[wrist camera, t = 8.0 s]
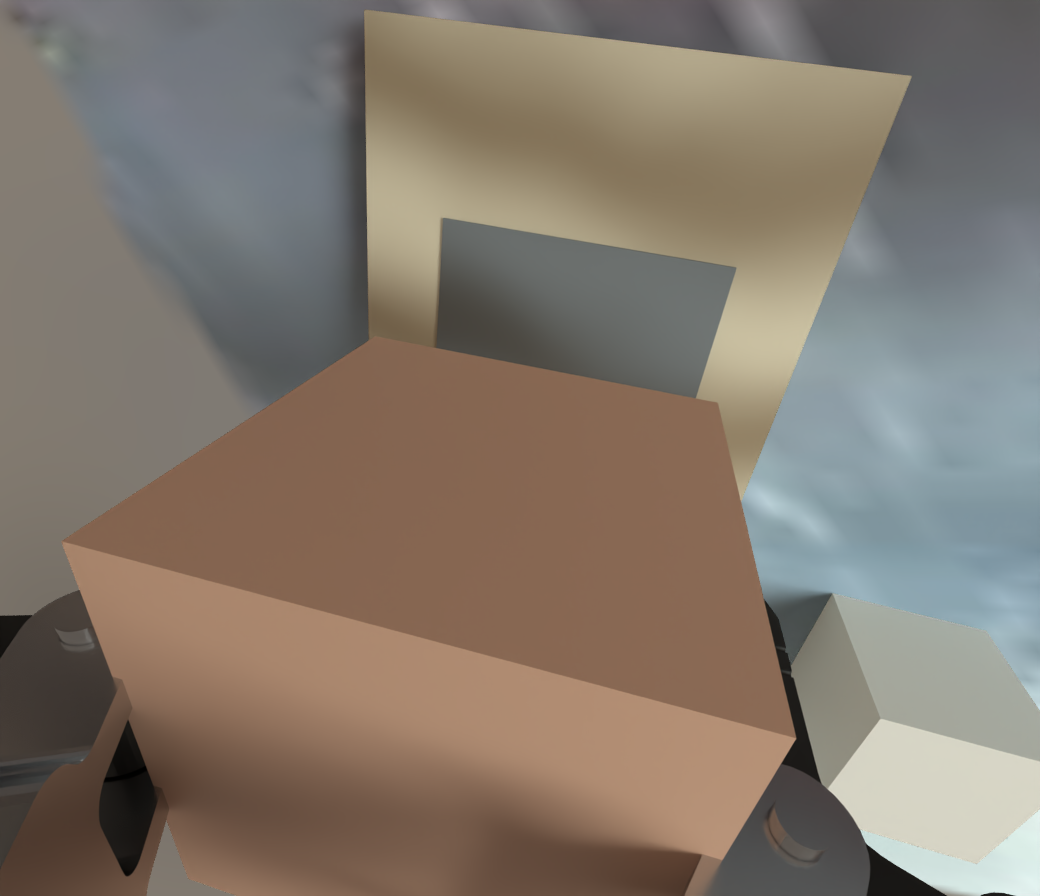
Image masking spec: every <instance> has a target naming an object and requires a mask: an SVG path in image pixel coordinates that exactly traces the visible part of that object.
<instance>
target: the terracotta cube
mask: <svg viewBox="0 0 1040 896" xmlns="http://www.w3.org/2000/svg"><path fill="white" fill-rule="evenodd" d="M62 544H63V547H64V550H65V552H66V555H67V558H68V560H69V563H70V566H71V568H72V571H73V574H74V576H75V579H76V582H77V584H78V587H79V590H80V592H81V595H82V598H83V600H84V603H85V605H86V608H87V611H88V613H89V616H90V619H91V621H92V624H93V627H94V629H95V632H96V635H97V637H98V640H99V643H100V645H101V648H102V651H103V653H104V656H105V659H106V661H107V664H108V667H109V669H110V672H111V674H112V677H116V678H119V679H122V680H123V683H124V686H125V689H126V691H127V694H128V697H129V699H130V702H131V705H132V710H131V713H130V715H129V718H128V720H129V722H130V725H131V728H132V730H133V733H134V736H135V738H136V741H137V743H138V746H139V749H140V751H141V754H142V757H143V759H144V762H145V765H146V767H147V770H148V773H149V775H150V778H151V781H152V783H153V785H154V786H157V787H160V788H162V790H163V793H164V795H165V798H166V801H167V804H168V806H169V812H168V815H167V819H166V820H167V823H168V826H169V828H170V831H171V833H172V836H173V839H174V841H175V844H176V847H177V849H178V852H179V855H180V858H181V860H182V863H183V865H184V868H185V870H186V873H187V876H188V879H190V880H193V881H196V882H199V883H202V884H205V885H207V886H210V887H213V888H216V889H219V890H222V891H225V892H227V893H231V894H233V895H236V896H681V895H682V893H683V891H684V888H685V886H686V884H687V882H688V879H689V877H690V876H691V874H692V872H693V870H694V869H695V867H696V865H697V863H698V861H699V860H700V858H701V856H702V854H703V855H707V856H710V857H713V858H717V859H720V860H723V858H724V857H725V855H726V853H727V852H728V850H729V848H730V847H731V845H732V844H733V842H734V840H735V839H736V837H737V835H738V834H739V832H740V830H741V829H742V827H743V825H744V824H745V822H746V820H747V819H748V817H749V816H750V814H751V812H752V811H753V809H754V807H755V806H756V804H757V802H758V801H759V799H760V797H761V796H762V794H763V793H764V791H765V789H766V788H767V786H768V784H769V783H770V781H771V779H772V778H773V776H774V774H775V773H776V771H777V769H778V768H779V766H780V765H781V763H782V761H783V760H784V758H785V756H786V755H787V753H788V751H789V750H790V748H791V746H792V745H793V743H794V741H795V740H796V735H795V730H794V726H793V722H792V718H791V713H790V709H789V705H788V701H787V696H786V692H785V688H784V683H783V679H782V675H781V671H780V666H779V662H778V658H777V654H776V649H775V645H774V641H773V636H772V632H771V628H770V624H769V619H768V615H767V611H766V607H765V602H764V598H763V594H762V589H761V585H760V581H759V577H758V572H757V568H756V564H755V560H754V555H753V551H752V547H751V542H750V538H749V534H748V530H747V525H746V521H745V517H744V513H743V508H742V504H741V500H740V495H739V491H738V487H737V483H736V478H735V474H734V470H733V466H732V461H731V457H730V453H729V448H728V444H727V440H726V436H725V431H724V427H723V423H722V419H721V414H720V410H719V406H718V403H717V402H712V401H706V400H701V399H696V398H691V397H686V396H681V395H676V394H670V393H665V392H660V391H655V390H650V389H645V388H639V387H634V386H629V385H624V384H619V383H614V382H609V381H603V380H598V379H593V378H588V377H583V376H578V375H572V374H567V373H562V372H557V371H552V370H547V369H542V368H536V367H531V366H526V365H521V364H516V363H511V362H506V361H500V360H495V359H490V358H485V357H480V356H475V355H469V354H464V353H459V352H454V351H449V350H444V349H439V348H433V347H428V346H423V345H418V344H413V343H408V342H402V341H397V340H392V339H387V338H382V337H377V336H375V337H373V338H372V339H370V340H369V341H367V342H366V343H364V344H363V345H361V346H360V347H358V348H356V349H355V350H353V351H352V352H350V353H349V354H347V355H346V356H344V357H343V358H341V359H340V360H338V361H337V362H335V363H333V364H332V365H330V366H329V367H327V368H326V369H324V370H323V371H321V372H320V373H318V374H317V375H315V376H314V377H312V378H311V379H309V380H307V381H306V382H304V383H303V384H301V385H300V386H298V387H297V388H295V389H294V390H292V391H291V392H289V393H288V394H286V395H284V396H283V397H281V398H280V399H278V400H277V401H275V402H274V403H272V404H271V405H269V406H268V407H266V408H265V409H263V410H262V411H260V412H258V413H257V414H255V415H254V416H252V417H251V418H249V419H248V420H246V421H245V422H243V423H242V424H240V425H239V426H237V427H236V428H234V429H232V430H231V431H230V432H228V433H227V434H225V435H223V436H222V437H220V438H219V439H217V440H216V441H214V442H213V443H211V444H209V445H208V446H206V447H205V448H203V449H202V450H200V451H199V452H197V453H196V454H194V455H193V456H191V457H190V458H188V459H187V460H185V461H184V462H182V463H180V464H179V465H177V466H176V467H174V468H173V469H172V470H170V471H168V472H167V473H165V474H164V475H162V476H160V477H159V478H157V479H156V480H154V481H153V482H151V483H150V484H148V485H147V486H145V487H144V488H142V489H141V490H139V491H137V492H136V493H134V494H133V495H132V496H130V497H128V498H127V499H125V500H124V501H122V502H121V503H119V504H118V505H116V506H115V507H113V508H111V509H110V510H108V511H107V512H105V513H104V514H103V515H101V516H99V517H98V518H96V519H95V520H93V521H92V522H90V523H88V524H87V525H85V526H84V527H82V528H81V529H79V530H78V531H76V532H75V533H73V534H72V535H70V536H69V537H67V538H66V539H64V540H63V541H62Z"/></svg>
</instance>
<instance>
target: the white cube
mask: <svg viewBox="0 0 1040 896" xmlns="http://www.w3.org/2000/svg"><path fill="white" fill-rule="evenodd" d="M791 669H792V673H791V677H793V678H794V681H795V685H796V689H797V693H798V697H799V700H800V704H801V708H802V712H803V716H804V720H805V724H806V728H807V731H808V735H809V739H810V743H811V747H812V751H813V755H814V759H815V763H816V766H817V770H818V774H819V777H820V780H821V783H822V785H823V786H825V787H826V788H827V789H828V790H829V791H830V792H831V793H832V794H834V795H835V797H836V798H837V799H838V800H839V801H840V802H841V803H842V804H843V805H844V807H845V808H846V809H847V811H848V812H849V813H850V815H851V816H852V817H853V819H854V821H855V822H856V824H857V826H858V828H859V829H860V830H864V831H867V832H871V833H874V834H877V835H881V836H884V837H887V838H891V839H894V840H898V841H901V842H904V843H908V844H911V845H915V846H918V847H921V848H925V849H928V850H931V851H935V852H938V853H942V854H945V855H948V856H952V857H955V858H959V859H962V860H965V861H969V862H972V863H975V864H977V863H978V862H980V861H981V860H982V859H983V858H984V857H985V856H986V855H988V854H989V853H990V852H991V851H992V850H993V849H995V848H996V847H997V846H998V845H999V844H1000V843H1001V842H1003V841H1004V840H1005V839H1006V838H1007V837H1008V836H1009V835H1011V834H1012V833H1013V832H1014V831H1015V830H1016V829H1018V828H1019V827H1020V826H1021V825H1022V824H1023V823H1024V822H1026V821H1027V820H1028V819H1029V818H1030V817H1031V816H1032V815H1034V814H1035V813H1036V812H1037V811H1038V810H1039V809H1040V710H1039V709H1038V707H1037V706H1036V704H1035V703H1034V701H1033V700H1032V698H1031V697H1030V695H1029V694H1028V692H1027V691H1026V689H1025V688H1024V686H1023V685H1022V683H1021V682H1020V680H1019V679H1018V677H1017V676H1016V674H1015V673H1014V671H1013V670H1012V668H1011V667H1010V665H1009V664H1008V662H1007V661H1006V660H1005V658H1004V657H1003V655H1002V654H1001V652H1000V651H999V649H998V648H997V646H996V645H995V643H994V642H993V640H992V639H991V637H990V636H989V634H988V633H987V631H985V630H981V629H977V628H973V627H969V626H965V625H961V624H957V623H952V622H948V621H944V620H940V619H936V618H932V617H928V616H924V615H920V614H916V613H912V612H908V611H903V610H899V609H895V608H891V607H887V606H883V605H879V604H875V603H871V602H867V601H863V600H858V599H854V598H850V597H846V596H842V595H838V594H834V593H832V595H831V597H830V598H829V600H828V602H827V604H826V605H825V607H824V609H823V611H822V612H821V614H820V616H819V618H818V619H817V621H816V623H815V625H814V626H813V628H812V630H811V632H810V633H809V635H808V637H807V639H806V640H805V642H804V644H803V646H802V647H801V649H800V651H799V653H798V654H797V656H796V658H795V660H794V661H793V663H792V665H791Z"/></svg>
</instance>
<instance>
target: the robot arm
mask: <svg viewBox="0 0 1040 896" xmlns="http://www.w3.org/2000/svg"><path fill="white" fill-rule="evenodd" d="M764 602H765V607H766V611H767V615H768V619H769V624H770V628H771V632H772V636H773V641H774V645H775V649H776V654H777V658H778V662H779V666H780V671H781V675H782V679H783V683H784V688H785V692H786V696H787V701H788V705H789V709H790V713H791V718H792V722H793V726H794V730H795V735H796V740H795V741H794V743H793V745H792V746H791V748H790V750H789V751H788V753H787V755H786V756H785V758H784V760H783V761H782V763H781V765H780V766H779V768H778V769H777V771H776V773H775V774H774V776H773V778H772V779H771V781H770V783H769V784H768V786H767V788H766V789H765V791H764V793H763V794H762V796H761V797H760V799H759V801H758V802H757V804H756V806H755V807H754V809H753V811H752V812H751V814H750V816H749V817H748V819H747V820H746V822H745V824H744V825H743V827H742V829H741V830H740V832H739V834H738V835H737V837H736V839H735V840H734V842H733V844H732V845H731V847H730V848H729V850H728V852H727V853H726V855H725V857H724V858H723V860H720V859H717V858H713V857H710V856H707V855H703V854H702V856H701V858H700V860H699V861H698V863H697V865H696V867H695V869H694V870H693V872H692V874H691V876H690V877H689V879H688V882H687V884H686V886H685V888H684V891H683V893H682V895H681V896H946V895H945V894H943V893H941V892H940V891H938V890H936V889H935V888H933V887H931V886H930V885H928V884H926V883H925V882H923V881H921V880H920V879H918V878H916V877H915V876H913V875H911V874H910V873H908V872H906V871H905V870H903V869H901V868H900V867H898V866H896V865H894V864H893V863H891V862H890V861H888V860H887V859H885V858H884V857H882V856H881V855H880V854H878V853H877V852H876V851H875V850H873V849H872V848H871V847H870V846H868V845H867V844H866V843H865V841H864V838H863V836H862V834H861V831H860V829H859V828H858V826H857V824H856V822H855V821H854V819H853V817H852V816H851V815H850V813H849V812H848V811H847V809H846V808H845V807H844V805H843V804H842V803H841V802H840V801H839V800H838V799H837V798H836V797H835V795H834V794H832V793H831V792H830V791H829V790H828V789H827V788H826V787H825V786H823V785H822V783H821V780H820V777H819V774H818V770H817V766H816V763H815V759H814V755H813V751H812V747H811V743H810V739H809V735H808V731H807V728H806V724H805V720H804V716H803V712H802V708H801V704H800V700H799V697H798V693H797V689H796V685H795V681H794V678H793V677H791V673H792V669H791V666H790V662H789V658H788V654H787V653H785V648H786V646H785V642H784V638H783V634H782V631H781V627H780V623H779V619H778V618H777V616H776V615H775V614H774V612H773V611H772V609H771V608H770V607H769V605H768V604H767V603H766V601H765V600H764ZM131 710H132V705H131V702H130V699H129V697H128V694H127V691H126V689H125V686H124V683H123V680H122V679H119V678H116V677H112V674H111V672H110V669H109V667H108V664H107V661H106V659H105V656H104V653H103V651H102V648H101V645H100V643H99V640H98V637H97V635H96V632H95V629H94V627H93V624H92V621H91V619H90V616H89V613H88V611H87V608H86V605H85V603H84V600H83V598H82V595H81V592H80V590H78V591H75V592H72V593H70V594H67V595H65V596H63V597H60V598H58V599H56V600H54V601H53V602H51V603H49V604H48V605H46V606H44V607H43V608H42V609H40V610H39V611H37V612H36V613H35V614H34V615H23V616H22V615H21V616H20V615H19V616H0V896H146V894H147V888H148V882H149V878H150V875H151V871H152V867H153V864H154V860H155V857H156V854H157V850H158V846H159V843H160V840H161V836H162V833H163V829H164V826H165V822H166V819H167V815H168V812H169V806H168V804H167V801H166V798H165V795H164V793H163V790H162V788H160V787H157V786H154V785H153V783H152V781H151V778H150V775H149V773H148V770H147V767H146V765H145V762H144V759H143V757H142V754H141V751H140V749H139V746H138V743H137V741H136V738H135V736H134V733H133V730H132V728H131V725H130V722H129V720H128V718H129V715H130V713H131ZM981 896H1014V895H1009V894H1005V893H988V894H983V895H981Z"/></svg>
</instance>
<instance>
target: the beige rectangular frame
mask: <svg viewBox="0 0 1040 896" xmlns="http://www.w3.org/2000/svg"><path fill="white" fill-rule="evenodd" d="M364 28H365V102H366V176H367V250H368V324H369V340H370V339H372V338H373V337H375V336H377V337H382V338H387V339H392V340H397V341H402V342H408V343H413V344H418V345H423V346H428V347H433V348H439V349H444V350H449V351H454V352H459V353H464V354H469V355H475V356H480V357H485V358H490V359H495V360H500V361H506V362H511V363H516V364H521V365H526V366H531V367H536V368H542V369H547V370H552V371H557V372H562V373H567V374H572V375H578V376H583V377H588V378H593V379H598V380H603V381H609V382H614V383H619V384H624V385H629V386H634V387H639V388H645V389H650V390H655V391H660V392H665V393H670V394H676V395H681V396H686V397H691V398H696V399H701V400H706V401H712V402H717V403H718V406H719V410H720V414H721V419H722V423H723V427H724V431H725V436H726V440H727V444H728V448H729V453H730V457H731V461H732V466H733V470H734V474H735V478H736V483H737V487H738V491H739V495H740V500H742V498H743V495H744V493H745V490H746V488H747V485H748V483H749V480H750V478H751V475H752V473H753V470H754V468H755V465H756V463H757V460H758V458H759V455H760V453H761V450H762V448H763V445H764V443H765V440H766V438H767V436H768V433H769V431H770V428H771V426H772V423H773V421H774V418H775V416H776V413H777V411H778V408H779V406H780V403H781V401H782V398H783V396H784V393H785V391H786V388H787V386H788V383H789V381H790V378H791V376H792V373H793V371H794V368H795V366H796V363H797V361H798V358H799V356H800V353H801V351H802V348H803V346H804V343H805V341H806V338H807V336H808V333H809V331H810V328H811V326H812V323H813V321H814V318H815V316H816V313H817V311H818V309H819V306H820V304H821V301H822V299H823V296H824V294H825V291H826V289H827V286H828V284H829V281H830V279H831V276H832V274H833V271H834V269H835V266H836V264H837V261H838V259H839V256H840V254H841V251H842V249H843V246H844V244H845V241H846V239H847V236H848V234H849V231H850V229H851V226H852V224H853V221H854V219H855V216H856V214H857V211H858V209H859V206H860V204H861V201H862V199H863V196H864V194H865V191H866V189H867V186H868V184H869V182H870V179H871V177H872V174H873V172H874V169H875V167H876V164H877V162H878V159H879V157H880V154H881V152H882V149H883V147H884V144H885V142H886V139H887V137H888V134H889V132H890V129H891V127H892V124H893V122H894V119H895V117H896V114H897V112H898V109H899V107H900V104H901V102H902V99H903V97H904V94H905V92H906V89H907V87H908V84H909V82H910V79H911V77H912V76H907V75H899V74H890V73H882V72H874V71H866V70H858V69H849V68H841V67H833V66H825V65H816V64H808V63H800V62H792V61H783V60H775V59H767V58H759V57H750V56H742V55H734V54H726V53H718V52H709V51H701V50H693V49H685V48H676V47H668V46H660V45H652V44H643V43H635V42H627V41H619V40H610V39H602V38H594V37H586V36H577V35H569V34H561V33H553V32H545V31H536V30H528V29H520V28H512V27H503V26H495V25H487V24H479V23H470V22H462V21H454V20H446V19H437V18H429V17H421V16H413V15H405V14H396V13H388V12H380V11H372V10H364Z"/></svg>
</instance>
